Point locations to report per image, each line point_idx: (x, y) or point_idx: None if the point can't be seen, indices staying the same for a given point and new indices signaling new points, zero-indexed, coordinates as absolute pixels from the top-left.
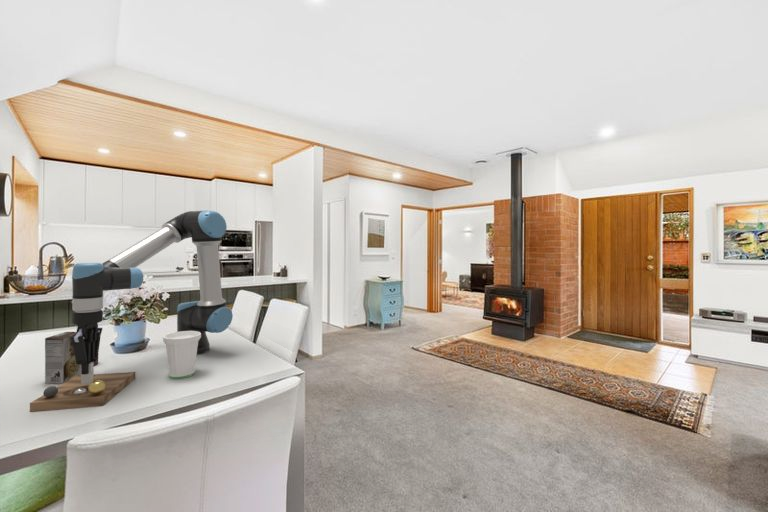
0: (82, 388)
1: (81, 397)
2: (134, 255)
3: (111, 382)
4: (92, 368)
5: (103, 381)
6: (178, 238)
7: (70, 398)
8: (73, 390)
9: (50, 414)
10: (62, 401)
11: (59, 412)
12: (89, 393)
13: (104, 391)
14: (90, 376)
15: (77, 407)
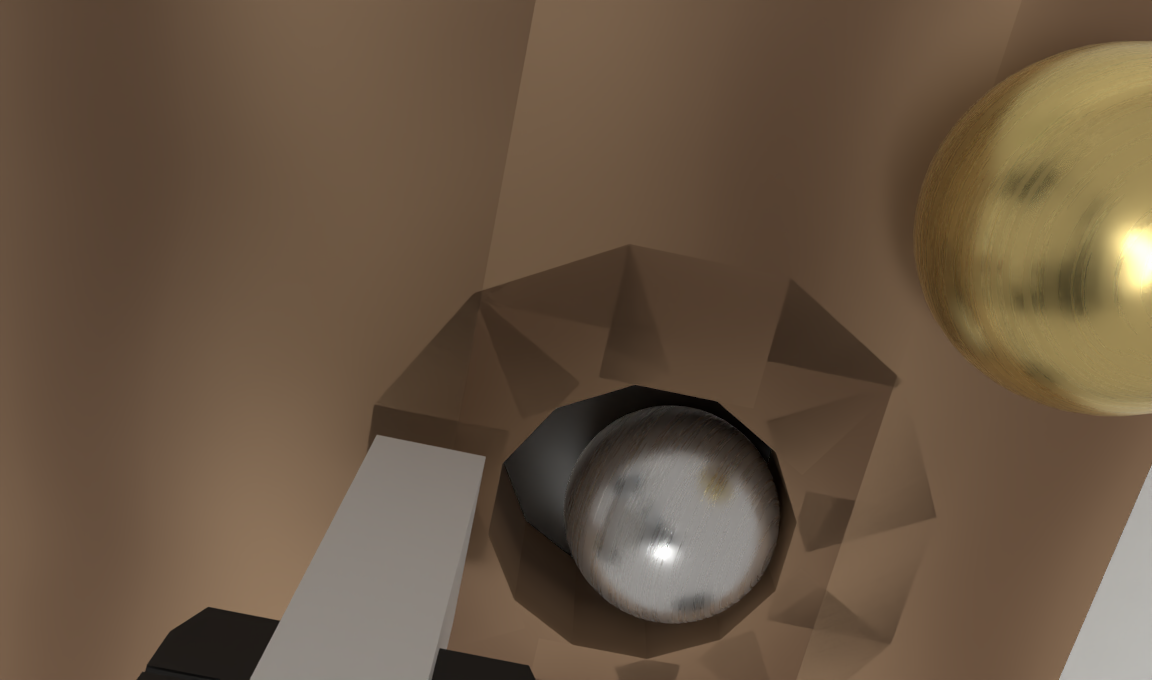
0: (680, 533)
1: (1085, 431)
2: None
3: (327, 71)
4: (336, 649)
5: (1142, 117)
6: None
7: (1027, 591)
8: (574, 653)
9: (1143, 673)
10: (1054, 668)
11: (1133, 589)
12: (910, 349)
13: (936, 80)
14: (457, 549)
15: None
